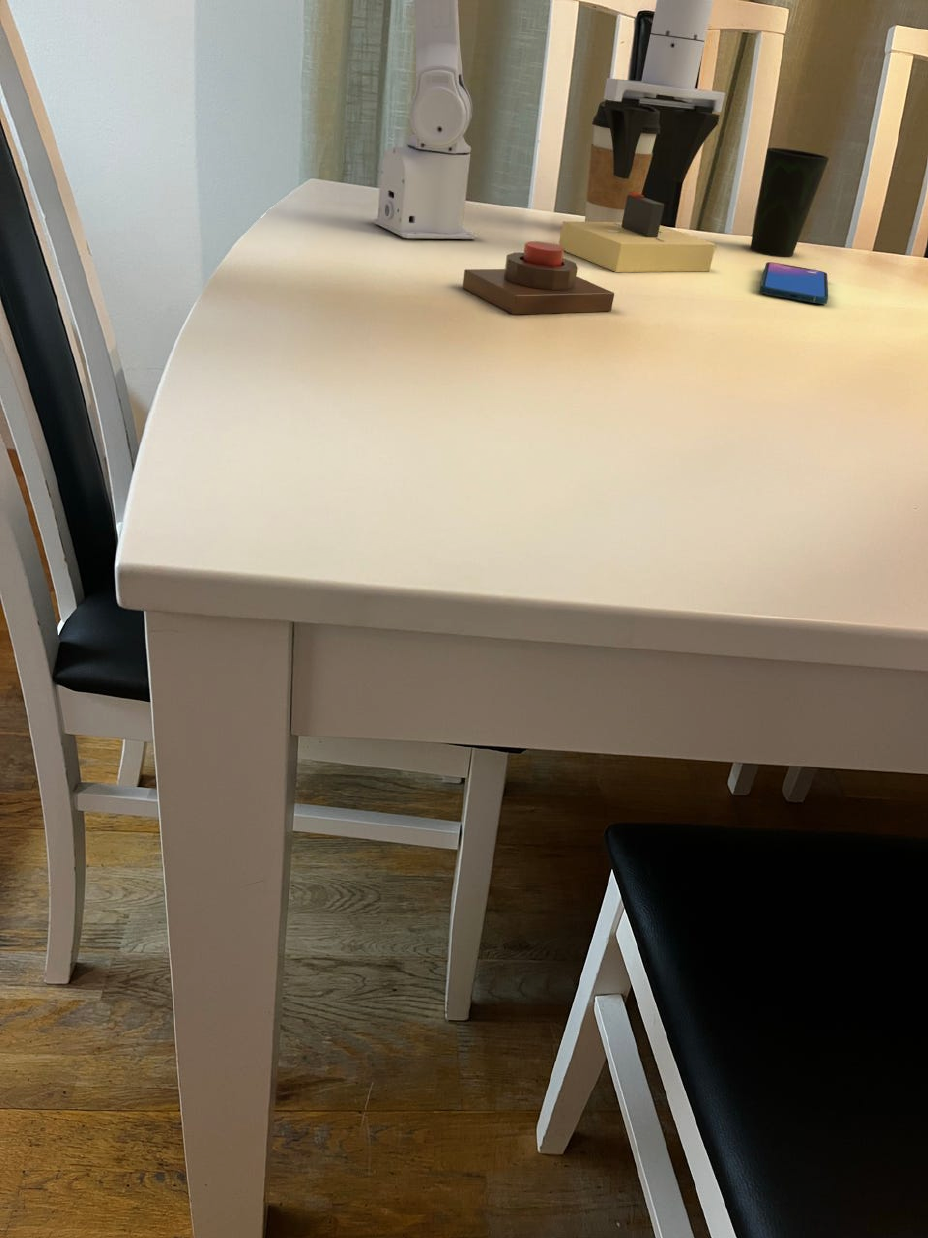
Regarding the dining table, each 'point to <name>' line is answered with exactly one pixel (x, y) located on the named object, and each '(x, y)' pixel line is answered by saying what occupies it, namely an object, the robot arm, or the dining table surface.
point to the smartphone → (795, 283)
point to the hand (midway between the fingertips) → (648, 178)
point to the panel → (635, 248)
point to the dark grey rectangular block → (642, 215)
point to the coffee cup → (602, 183)
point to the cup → (785, 199)
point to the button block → (537, 288)
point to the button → (543, 254)
